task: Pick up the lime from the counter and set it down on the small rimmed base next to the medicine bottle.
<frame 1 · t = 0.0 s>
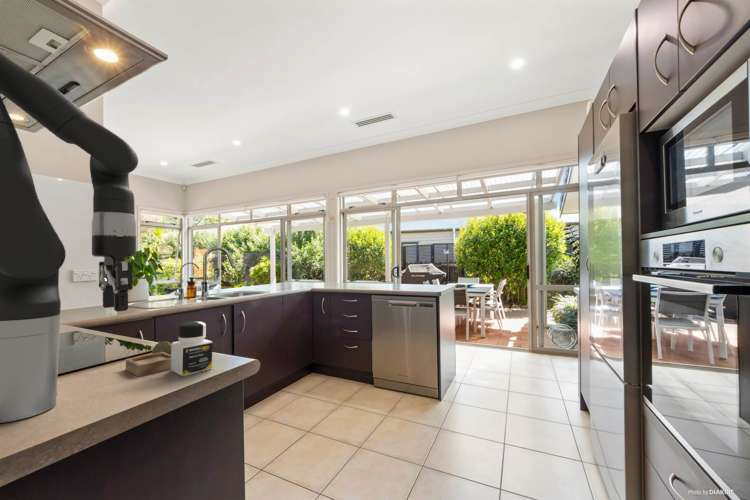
hand: (115, 309, 70), 17 cm above the counter, tool pointing down, fingers open, 8 cm apart
medicine bottle: (191, 370, 82), on the counter
lime: (162, 359, 91), on the counter
base: (151, 368, 83), on the counter
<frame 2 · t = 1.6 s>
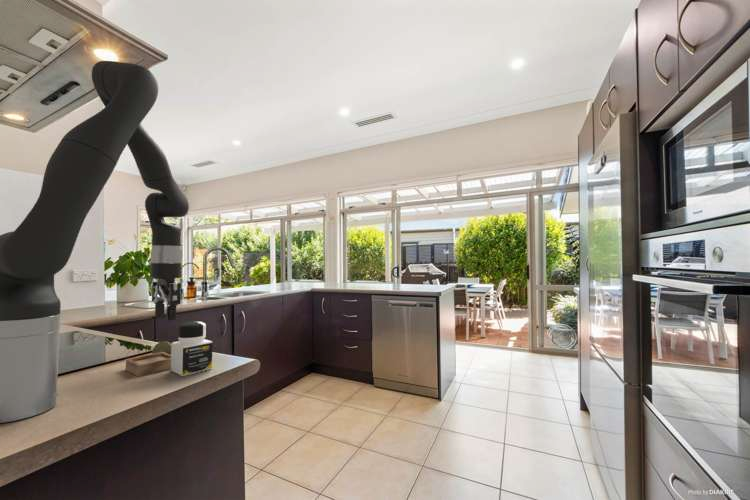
hand: (165, 318, 91), 11 cm above the counter, tool pointing down, fingers open, 8 cm apart
nothing on the counter moved.
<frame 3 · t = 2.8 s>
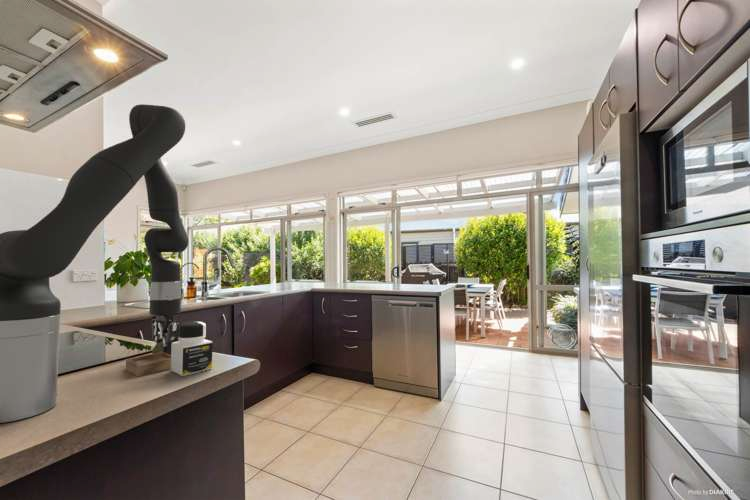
hand: (164, 357, 91), 0 cm above the counter, tool pointing down, fingers closed on lime, 4 cm apart
lime: (162, 359, 91), on the counter, touching gripper
everything else where it was.
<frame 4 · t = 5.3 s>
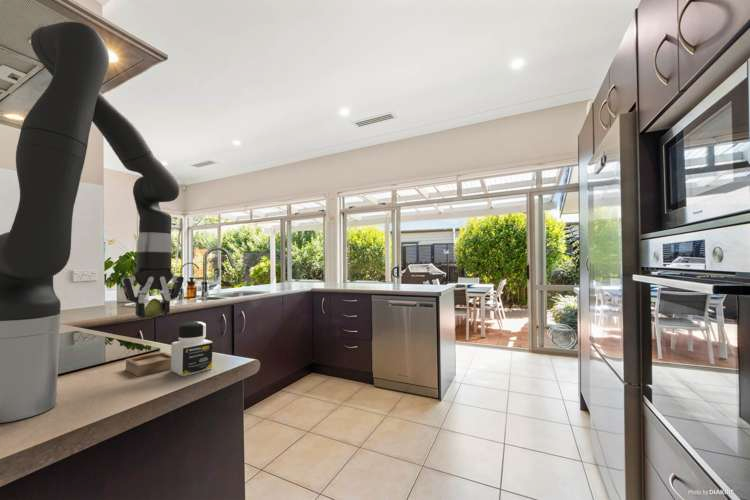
hand: (152, 316, 83), 13 cm above the counter, tool pointing down, fingers closed on lime, 4 cm apart
lime: (152, 318, 83), point 13 cm above the counter, touching gripper
everything else where it was.
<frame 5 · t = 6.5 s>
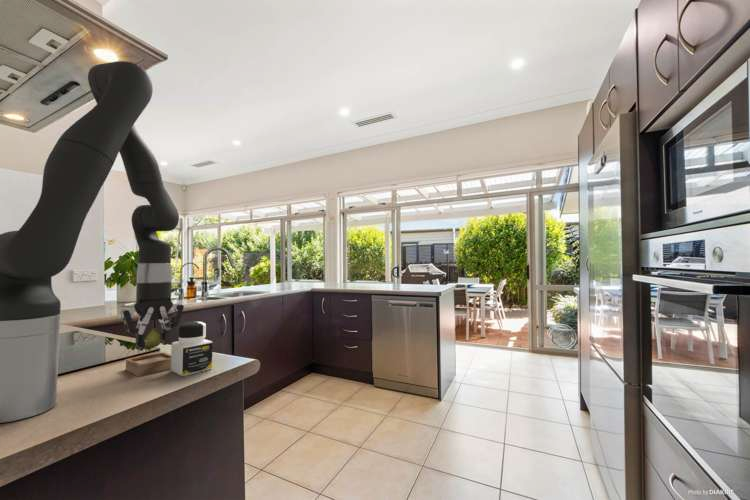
hand: (153, 346, 83), 6 cm above the counter, tool pointing down, fingers closed on lime, 4 cm apart
lime: (152, 348, 83), point 5 cm above the counter, touching gripper
everything else where it was.
when the fingers open (3 cm above the counter, at t = 7.4 s): lime stays where it is, resting on base.
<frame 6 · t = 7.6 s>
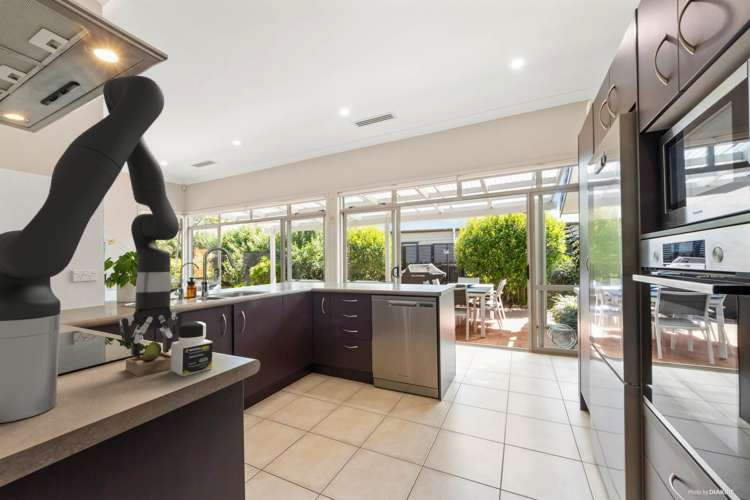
hand: (151, 354, 83), 4 cm above the counter, tool pointing down, fingers open, 6 cm apart
lime: (150, 361, 83), point 2 cm above the counter, touching base
everything else where it was.
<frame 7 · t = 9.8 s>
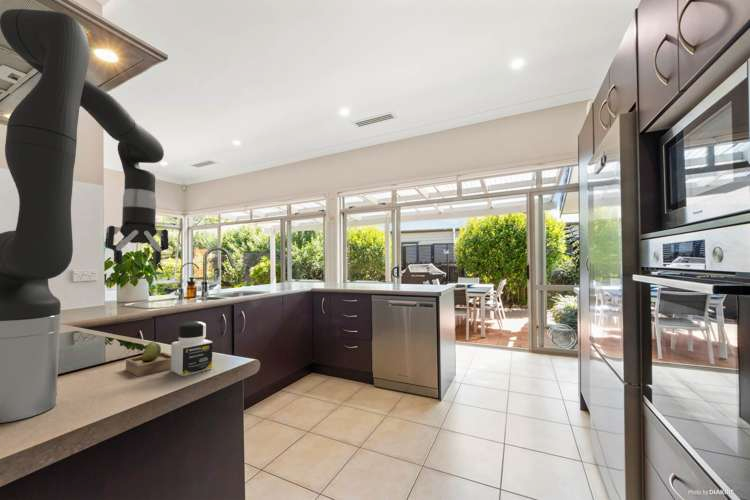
hand: (137, 264, 90), 27 cm above the counter, tool pointing down, fingers open, 8 cm apart
nothing on the counter moved.
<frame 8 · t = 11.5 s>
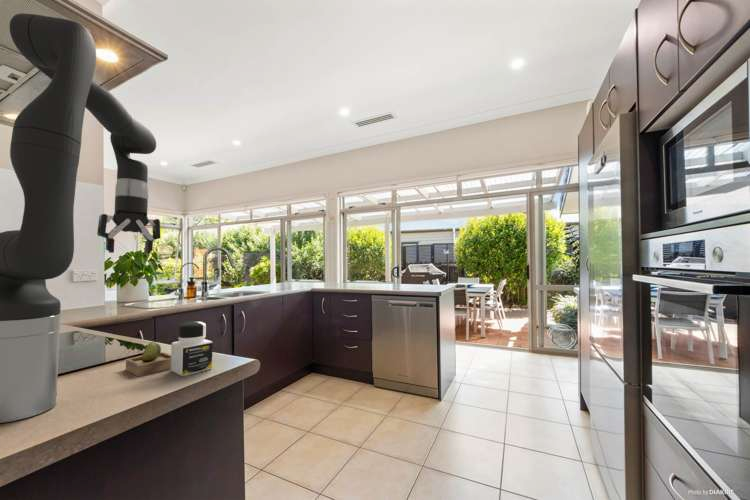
hand: (129, 253, 92), 30 cm above the counter, tool pointing down, fingers open, 8 cm apart
nothing on the counter moved.
at the end: lime inside the target area on the base (0.3 cm from its centre), point 1.6 cm above the base's base; the gripper is holding nothing; lime touching base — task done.
